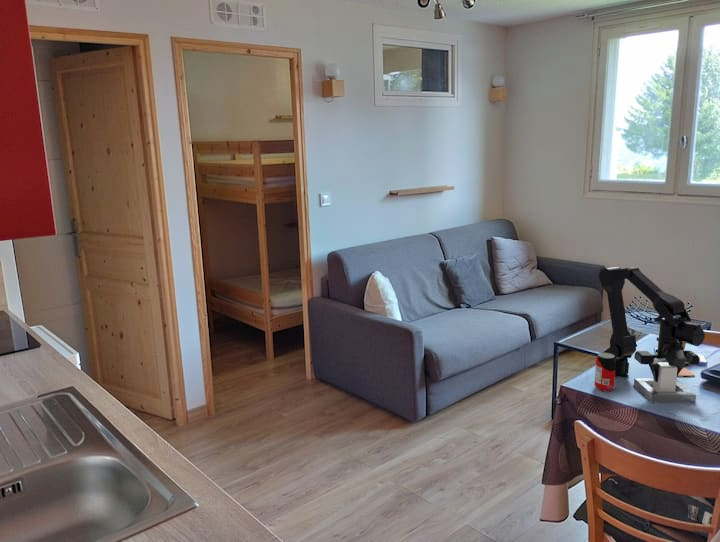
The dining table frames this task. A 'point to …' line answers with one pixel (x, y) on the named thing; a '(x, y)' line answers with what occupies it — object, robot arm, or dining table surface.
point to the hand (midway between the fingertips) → (664, 381)
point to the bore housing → (678, 396)
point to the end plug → (665, 378)
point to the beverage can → (605, 371)
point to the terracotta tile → (685, 373)
